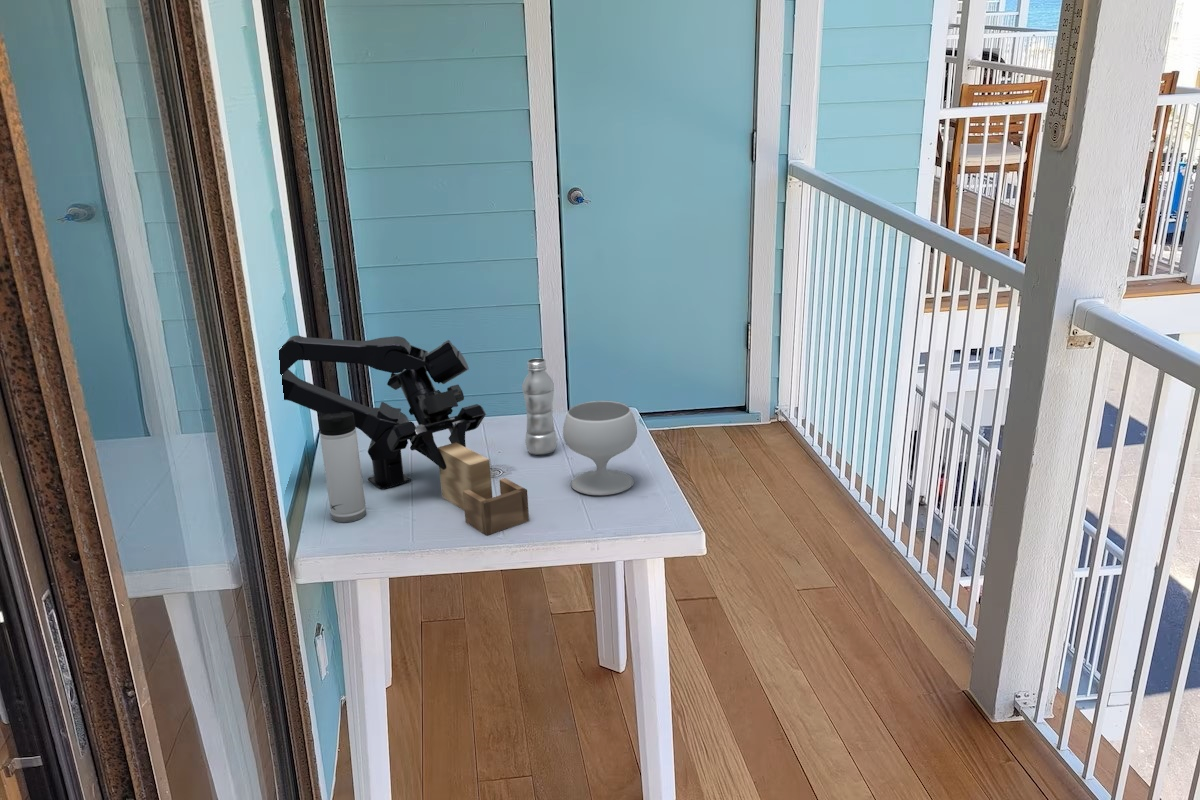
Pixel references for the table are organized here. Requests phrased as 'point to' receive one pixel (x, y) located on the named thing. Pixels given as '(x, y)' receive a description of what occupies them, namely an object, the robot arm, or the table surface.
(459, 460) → the tan wooden block
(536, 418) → the plastic bottle
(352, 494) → the travel mug
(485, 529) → the end cap
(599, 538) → the table surface
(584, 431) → the chalice
